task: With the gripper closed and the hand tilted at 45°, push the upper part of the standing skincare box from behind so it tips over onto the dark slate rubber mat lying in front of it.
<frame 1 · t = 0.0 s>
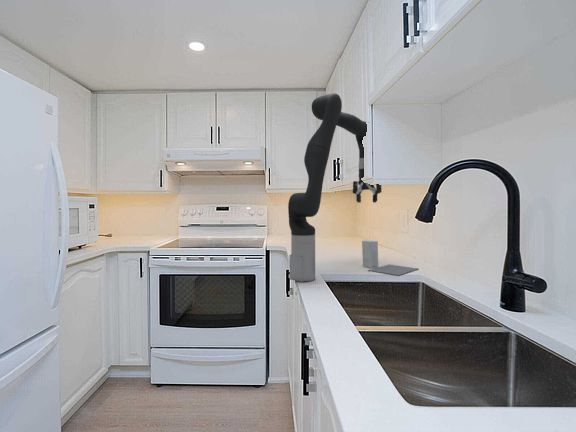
hand: (366, 202, 162), 29 cm above the worktop, tool pointing down, fingers open, 8 cm apart
slate mat: (393, 270, 147), on the worktop
skincare box: (370, 267, 154), on the worktop
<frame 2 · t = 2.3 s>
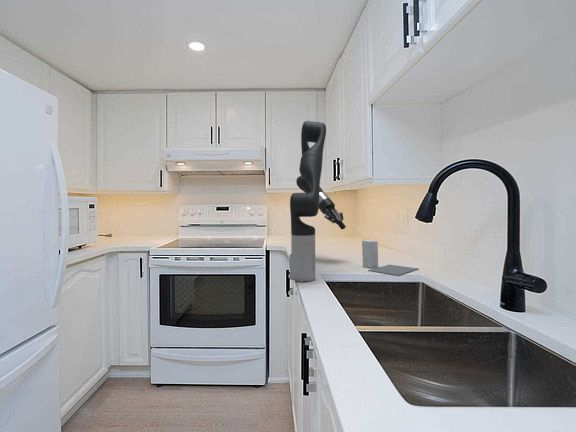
hand: (343, 228, 163), 17 cm above the worktop, tool tilted 45°, fingers closed
nothing on the worktop moved.
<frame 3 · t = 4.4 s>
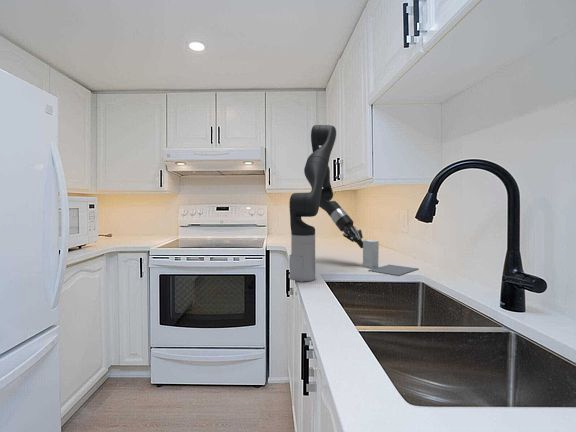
hand: (363, 247, 156), 9 cm above the worktop, tool tilted 45°, fingers closed
skincare box: (370, 267, 154), on the worktop, touching gripper
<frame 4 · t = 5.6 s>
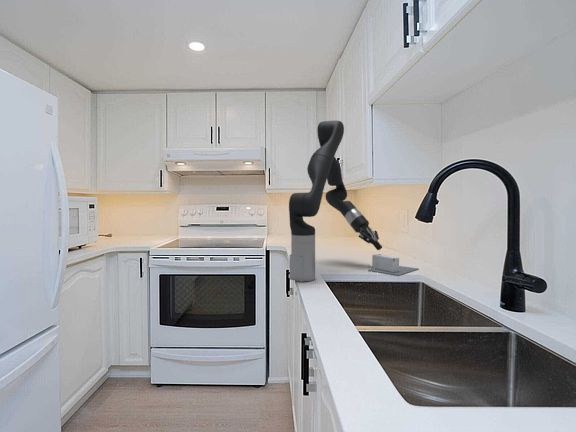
hand: (380, 248, 150), 9 cm above the worktop, tool tilted 45°, fingers closed
skincare box: (374, 260, 151), point 4 cm above the worktop, touching slate mat
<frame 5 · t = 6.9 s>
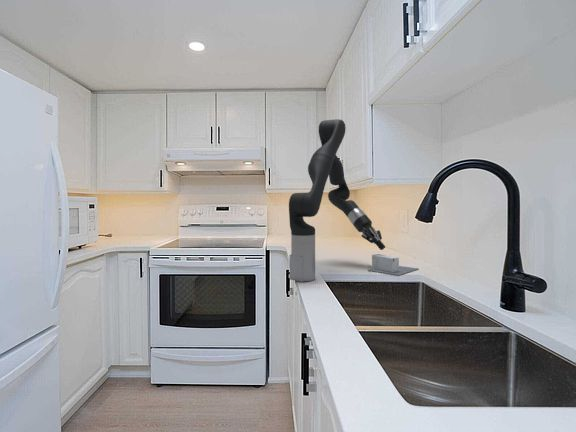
hand: (383, 248, 149), 9 cm above the worktop, tool tilted 45°, fingers closed
nothing on the worktop moved.
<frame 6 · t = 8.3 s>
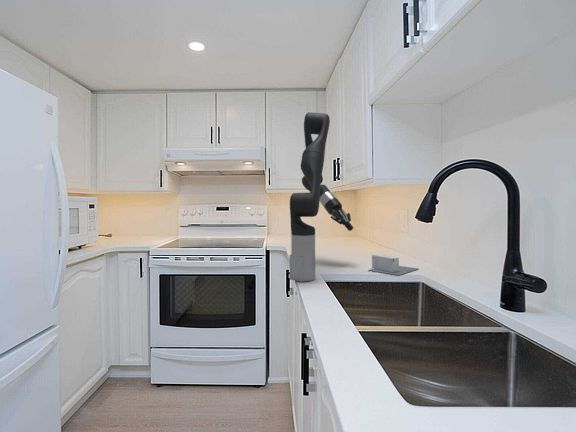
hand: (351, 229, 155), 17 cm above the worktop, tool tilted 45°, fingers closed
nothing on the worktop moved.
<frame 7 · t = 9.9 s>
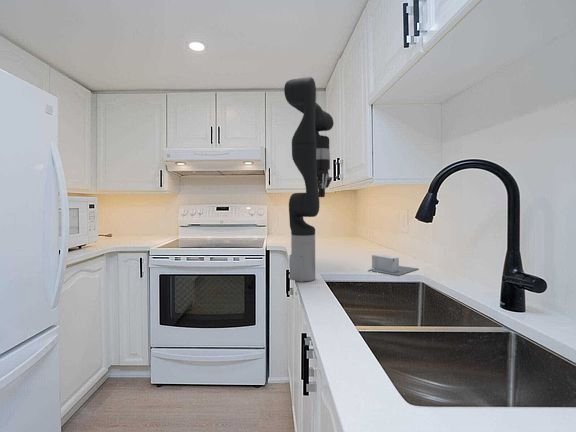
hand: (321, 197, 157), 32 cm above the worktop, tool pointing down, fingers closed
nothing on the worktop moved.
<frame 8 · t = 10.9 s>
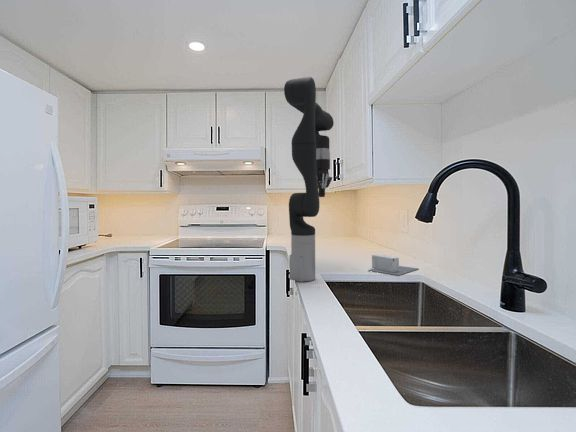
hand: (321, 196, 157), 32 cm above the worktop, tool pointing down, fingers closed
nothing on the worktop moved.
at the end: skincare box tilted 91°; skincare box touching slate mat; the gripper is holding nothing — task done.
